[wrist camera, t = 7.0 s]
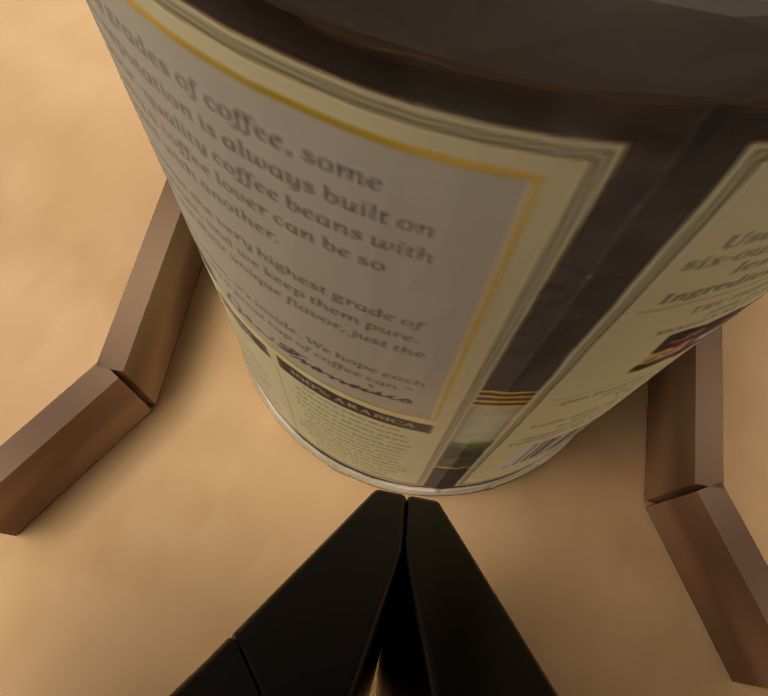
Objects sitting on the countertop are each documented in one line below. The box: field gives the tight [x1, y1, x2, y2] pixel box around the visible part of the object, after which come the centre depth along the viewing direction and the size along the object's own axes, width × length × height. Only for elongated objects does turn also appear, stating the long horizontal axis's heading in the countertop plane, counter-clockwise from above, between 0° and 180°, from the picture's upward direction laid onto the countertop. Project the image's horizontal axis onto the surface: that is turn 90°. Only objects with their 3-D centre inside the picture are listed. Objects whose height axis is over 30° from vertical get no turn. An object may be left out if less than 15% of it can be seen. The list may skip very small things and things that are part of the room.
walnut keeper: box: [0, 180, 768, 689], centre depth 16 cm, size 14×18×2 cm
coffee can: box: [86, 0, 768, 496], centre depth 11 cm, size 10×10×14 cm
